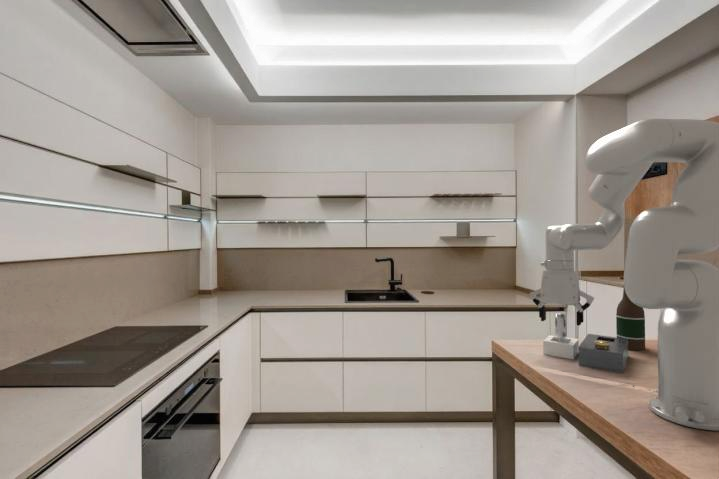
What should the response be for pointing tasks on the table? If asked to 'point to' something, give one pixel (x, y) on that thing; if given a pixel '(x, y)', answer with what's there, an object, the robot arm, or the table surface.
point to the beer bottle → (631, 323)
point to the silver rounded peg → (560, 327)
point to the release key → (601, 344)
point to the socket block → (604, 353)
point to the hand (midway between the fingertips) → (560, 322)
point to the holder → (561, 347)
